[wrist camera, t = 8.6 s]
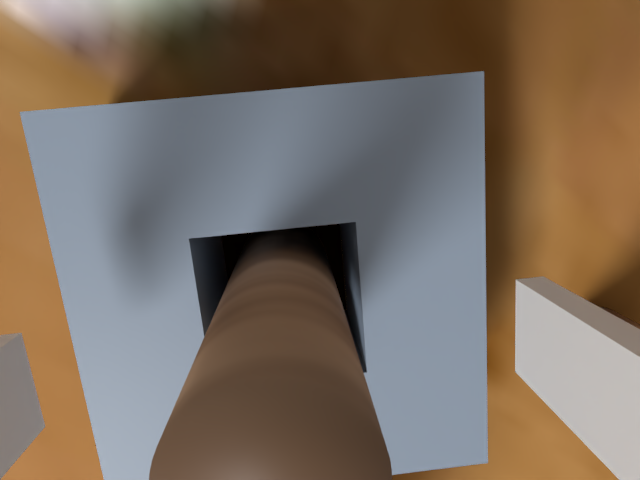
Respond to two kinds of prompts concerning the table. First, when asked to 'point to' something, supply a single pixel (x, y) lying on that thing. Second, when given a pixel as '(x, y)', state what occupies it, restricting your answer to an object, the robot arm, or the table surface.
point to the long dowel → (275, 378)
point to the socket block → (264, 215)
